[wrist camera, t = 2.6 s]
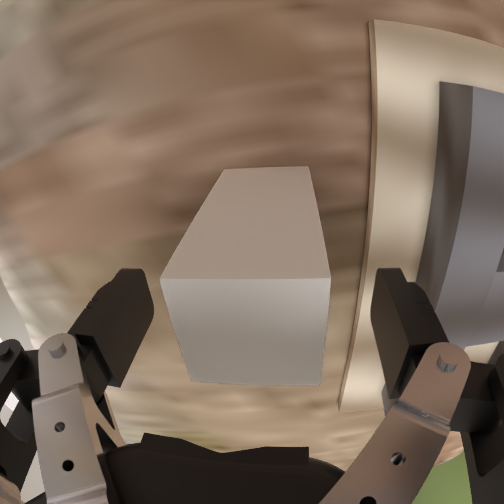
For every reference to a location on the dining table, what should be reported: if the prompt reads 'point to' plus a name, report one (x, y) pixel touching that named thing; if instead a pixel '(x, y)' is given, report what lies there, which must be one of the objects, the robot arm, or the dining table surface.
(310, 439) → the dining table surface
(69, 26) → the dining table surface
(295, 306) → the white rectangular block
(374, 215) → the socket board
